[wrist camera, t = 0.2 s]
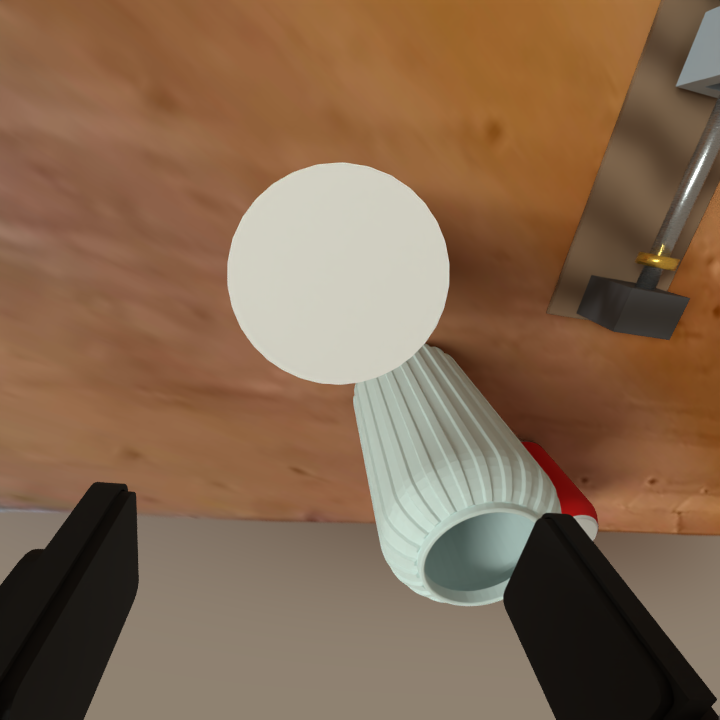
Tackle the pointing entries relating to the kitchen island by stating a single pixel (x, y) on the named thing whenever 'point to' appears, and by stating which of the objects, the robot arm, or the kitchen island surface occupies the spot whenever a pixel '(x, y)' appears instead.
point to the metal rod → (681, 205)
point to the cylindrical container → (338, 273)
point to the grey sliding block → (704, 58)
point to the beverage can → (566, 491)
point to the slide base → (641, 188)
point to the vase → (447, 481)
